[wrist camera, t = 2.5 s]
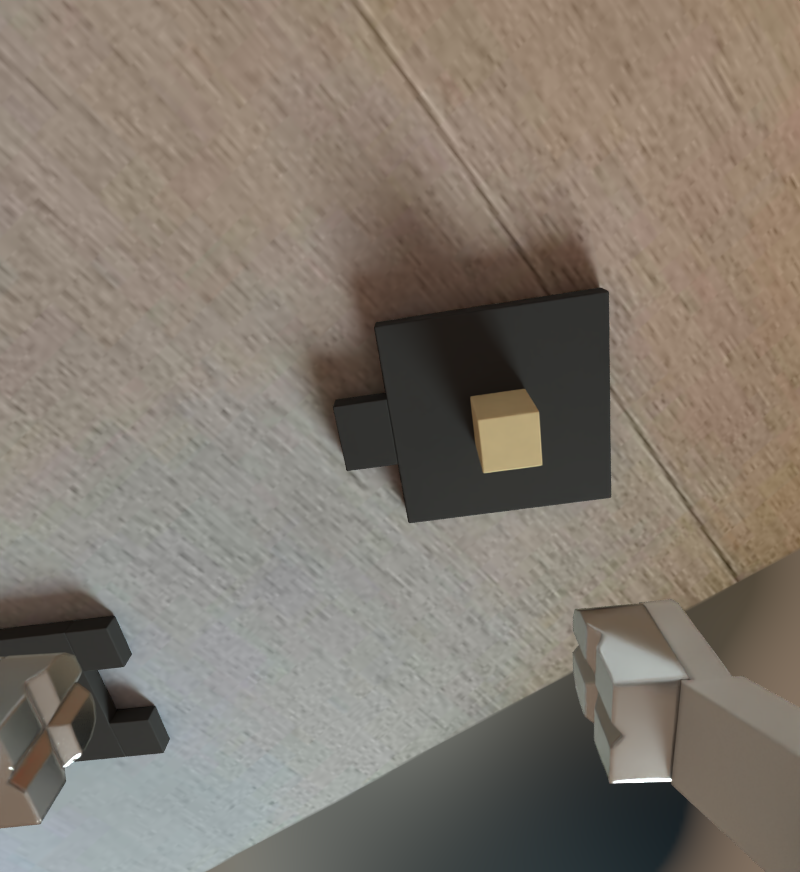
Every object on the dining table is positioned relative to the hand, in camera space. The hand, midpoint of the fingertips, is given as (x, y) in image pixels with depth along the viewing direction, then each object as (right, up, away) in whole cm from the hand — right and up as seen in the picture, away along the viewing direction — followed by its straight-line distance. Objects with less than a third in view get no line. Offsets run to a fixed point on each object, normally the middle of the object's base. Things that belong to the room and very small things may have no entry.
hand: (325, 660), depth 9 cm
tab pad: (+5, +5, +23) cm, 24 cm away
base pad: (-23, -15, +32) cm, 42 cm away
